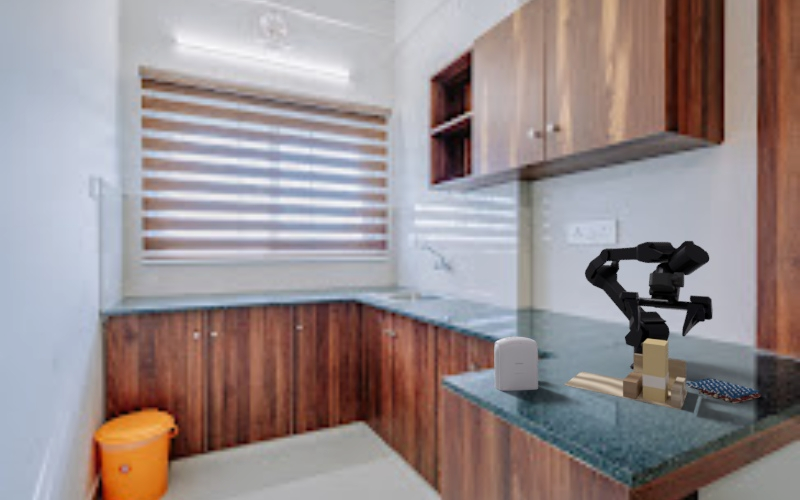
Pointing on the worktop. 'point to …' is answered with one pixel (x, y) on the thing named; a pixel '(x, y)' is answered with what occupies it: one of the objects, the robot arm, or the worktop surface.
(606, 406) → the worktop surface
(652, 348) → the tea box
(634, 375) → the wooden blocks on plank
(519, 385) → the photo printer
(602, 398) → the worktop surface
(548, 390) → the worktop surface
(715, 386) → the woven mat
